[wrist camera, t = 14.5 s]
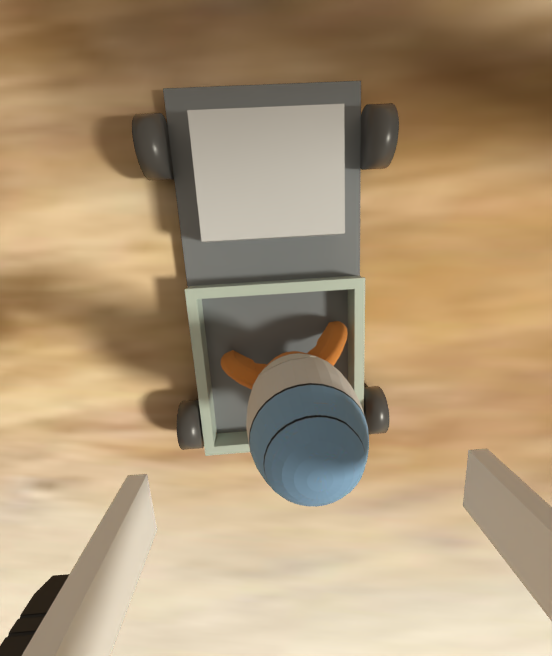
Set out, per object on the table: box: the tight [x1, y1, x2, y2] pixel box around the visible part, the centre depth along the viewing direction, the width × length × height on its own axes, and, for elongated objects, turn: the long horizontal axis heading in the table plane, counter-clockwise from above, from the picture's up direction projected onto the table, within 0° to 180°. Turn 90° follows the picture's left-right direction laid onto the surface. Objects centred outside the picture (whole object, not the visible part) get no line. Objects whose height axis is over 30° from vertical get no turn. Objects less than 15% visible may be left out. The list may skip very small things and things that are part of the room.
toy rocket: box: [221, 321, 369, 506], centre depth 22 cm, size 10×11×15 cm
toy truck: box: [132, 81, 399, 456], centre depth 25 cm, size 17×28×4 cm, turn 3°
